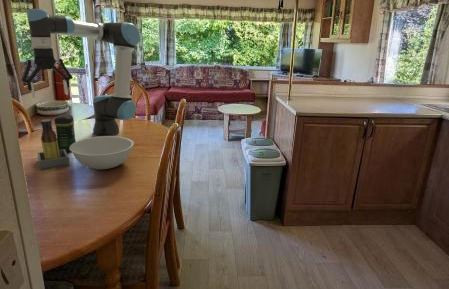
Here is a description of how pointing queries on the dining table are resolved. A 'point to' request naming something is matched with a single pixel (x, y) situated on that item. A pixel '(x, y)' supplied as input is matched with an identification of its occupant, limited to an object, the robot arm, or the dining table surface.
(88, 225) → the dining table surface
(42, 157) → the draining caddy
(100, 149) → the bowl
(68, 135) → the coffee jar
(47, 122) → the sauce bottle
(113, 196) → the dining table surface
